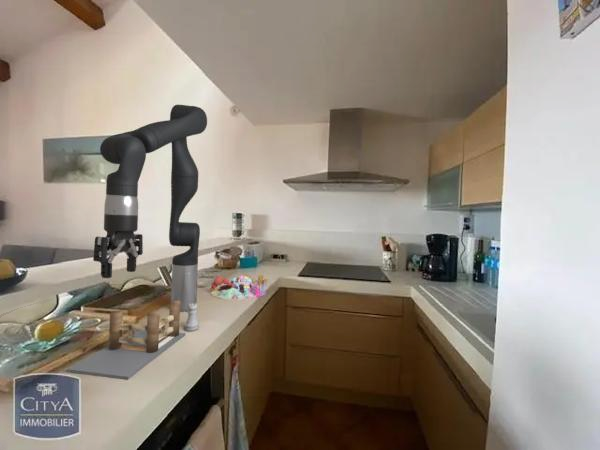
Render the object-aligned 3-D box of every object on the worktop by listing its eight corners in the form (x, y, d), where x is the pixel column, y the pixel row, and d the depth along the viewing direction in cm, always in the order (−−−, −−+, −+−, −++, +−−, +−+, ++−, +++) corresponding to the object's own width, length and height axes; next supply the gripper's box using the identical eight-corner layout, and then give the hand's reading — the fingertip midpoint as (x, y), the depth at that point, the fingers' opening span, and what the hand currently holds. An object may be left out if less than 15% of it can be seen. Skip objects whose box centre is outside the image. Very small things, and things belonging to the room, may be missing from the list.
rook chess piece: (193, 325, 94) (194, 301, 94) (202, 328, 92) (203, 303, 92) (181, 329, 90) (182, 304, 90) (190, 332, 88) (191, 307, 88)
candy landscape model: (235, 285, 152) (236, 267, 151) (274, 291, 142) (275, 273, 142) (202, 296, 129) (203, 275, 129) (246, 304, 119) (247, 282, 119)
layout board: (139, 330, 88) (139, 328, 88) (185, 335, 86) (185, 332, 86) (66, 371, 64) (67, 368, 64) (127, 379, 62) (127, 376, 62)
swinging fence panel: (148, 346, 76) (149, 312, 76) (142, 351, 73) (143, 316, 73) (113, 343, 76) (114, 310, 76) (106, 348, 74) (107, 314, 73)
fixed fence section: (172, 332, 86) (173, 300, 86) (180, 333, 86) (182, 300, 85) (143, 352, 73) (145, 314, 73) (153, 353, 73) (155, 315, 73)
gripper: (113, 213, 67) (111, 281, 68) (152, 214, 81) (150, 270, 82) (85, 212, 68) (83, 279, 69) (128, 213, 82) (126, 268, 83)
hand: (119, 274), depth 75 cm, fingers open, 8 cm apart
